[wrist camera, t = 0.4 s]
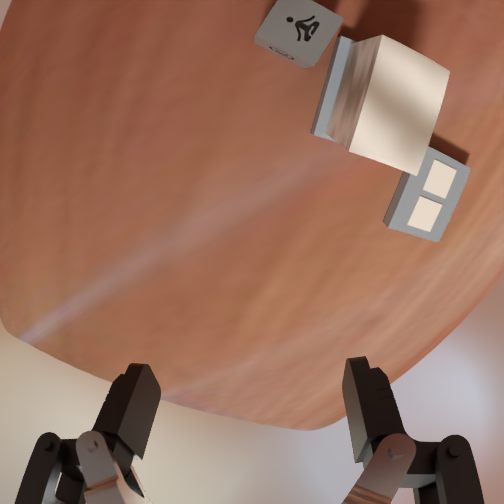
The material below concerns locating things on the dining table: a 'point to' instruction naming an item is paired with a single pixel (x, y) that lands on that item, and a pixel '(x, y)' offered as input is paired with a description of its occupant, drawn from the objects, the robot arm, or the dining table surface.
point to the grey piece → (331, 87)
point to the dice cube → (298, 31)
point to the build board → (427, 196)
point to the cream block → (388, 103)
